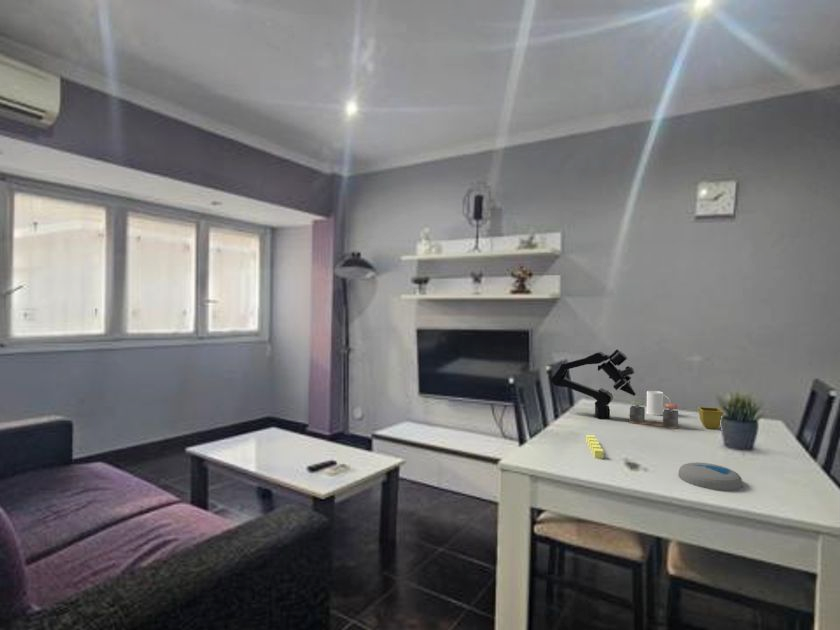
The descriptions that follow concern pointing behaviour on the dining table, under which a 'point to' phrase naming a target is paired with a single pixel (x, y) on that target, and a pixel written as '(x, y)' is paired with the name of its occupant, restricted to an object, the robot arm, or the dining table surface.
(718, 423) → the flower pot
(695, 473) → the decorative stone
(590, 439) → the yellow ridged bar
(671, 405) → the red button
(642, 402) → the sage button
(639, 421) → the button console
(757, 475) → the dining table surface
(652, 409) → the mug
